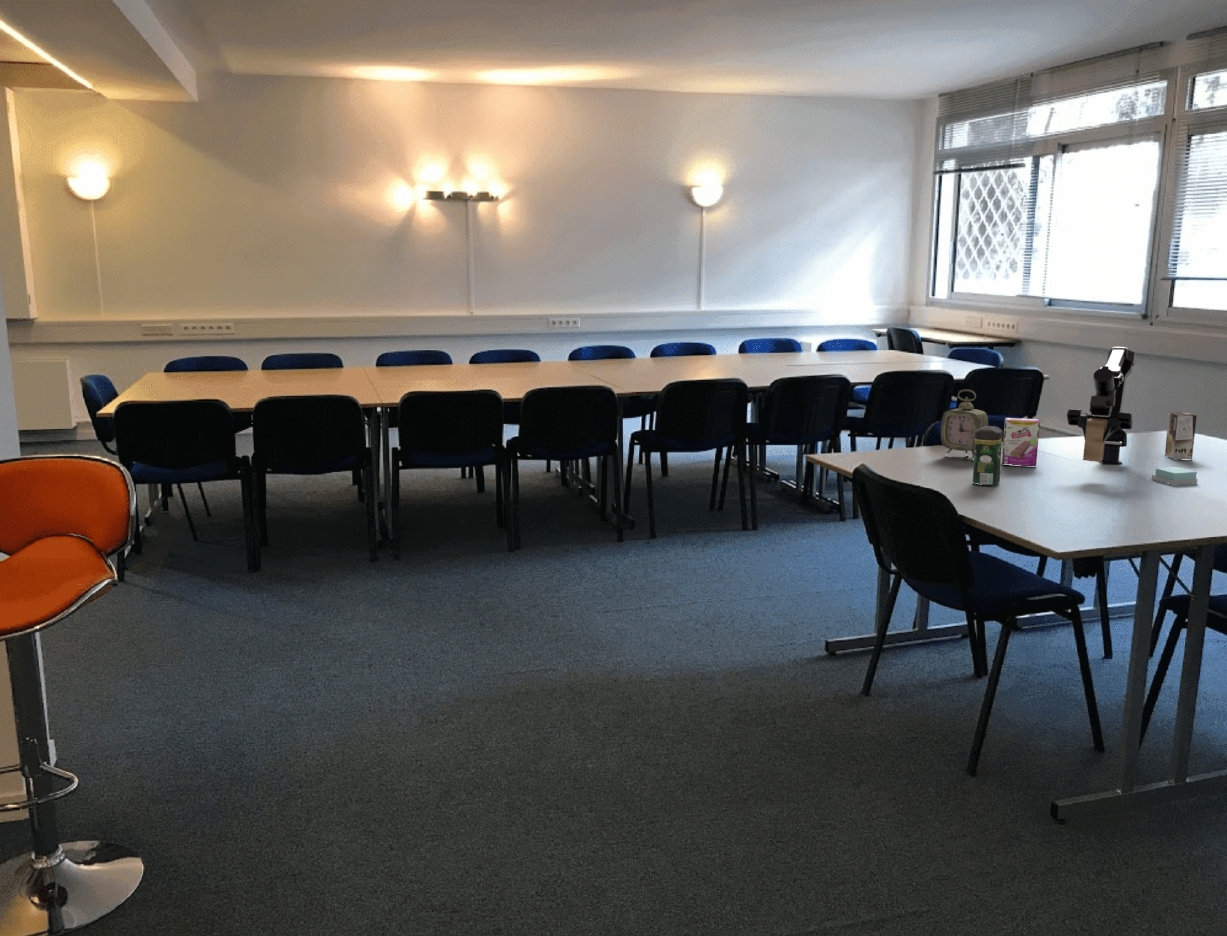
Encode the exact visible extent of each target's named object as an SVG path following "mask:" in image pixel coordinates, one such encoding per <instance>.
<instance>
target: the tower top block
mask: <svg viewBox="0 0 1227 936" xmlns="http://www.w3.org/2000/svg"><path fill="white" fill-rule="evenodd" d="M1197 473H1198V472H1197V471H1196V470H1195V471H1194V470H1191V469H1187V468H1185V467H1184V468H1183V467H1180V466H1173V467H1158V468H1157V467H1156V468H1155V475H1157V476H1160V477H1164V478H1168V479H1171V480H1185V479H1197Z"/></svg>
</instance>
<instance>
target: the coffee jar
mask: <svg viewBox="0 0 1227 936" xmlns="http://www.w3.org/2000/svg"><path fill="white" fill-rule="evenodd" d="M1003 434H1004V431H1003V430H1002V429H1001V428H1000V427H999V426H996V425H995V426H994V425H988V426H984V427H982V428H980V429H978V430H976V432H975V450H974V461H973V468H972V469H973V471H972V472H973V473H972V483H973V482H974V483H979V484H982V485H995V486H997V485H998V484H1000V481H1001V465H1002V448H1003ZM974 483H973V484H974Z"/></svg>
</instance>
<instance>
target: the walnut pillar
mask: <svg viewBox="0 0 1227 936" xmlns="http://www.w3.org/2000/svg"><path fill="white" fill-rule="evenodd" d="M1106 427H1107V419H1096V418H1090V419H1088V420H1087V425H1086V435H1085V439H1084V446H1083V456H1082V461H1087V462H1095V463H1101V461H1102V460H1103V455H1104V446H1105V442H1106V441H1103V437H1104V433H1105V431H1106Z"/></svg>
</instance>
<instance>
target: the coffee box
mask: <svg viewBox="0 0 1227 936" xmlns="http://www.w3.org/2000/svg"><path fill="white" fill-rule="evenodd" d="M1197 417H1198V415H1196V414H1194V413H1192V412H1189V411H1168V416H1167V418H1168V419H1167V425H1166V426H1167V428H1166V438H1165V450H1164V451H1165V452H1164V456H1165V455H1166V456H1165V457H1167V456H1168V457H1167V458H1169V457H1170V458H1169V459H1171V458H1172V459H1171V460H1173V459H1191V461H1193V454H1194V447H1195V446H1194V444H1195V443H1194V442H1195V435H1196V428H1197V427H1196V425H1197V419H1198V418H1197Z"/></svg>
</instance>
